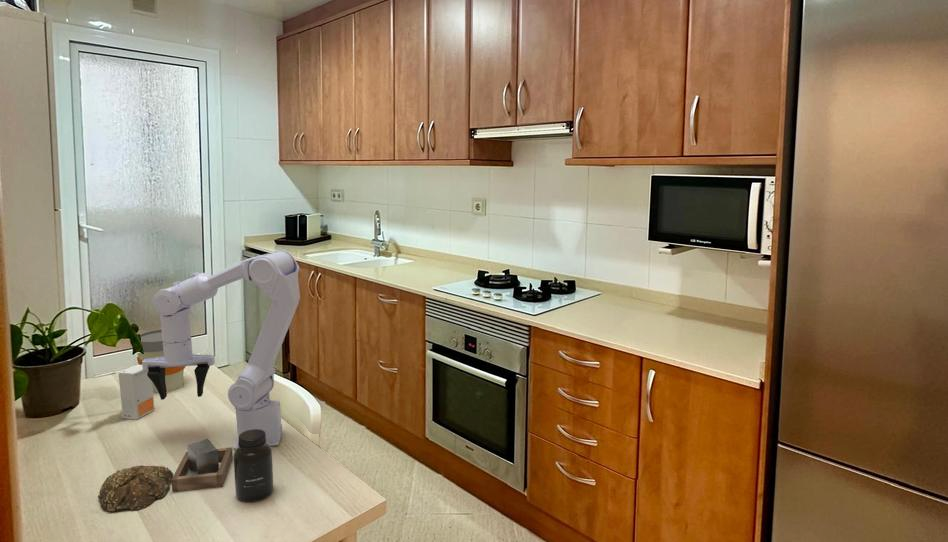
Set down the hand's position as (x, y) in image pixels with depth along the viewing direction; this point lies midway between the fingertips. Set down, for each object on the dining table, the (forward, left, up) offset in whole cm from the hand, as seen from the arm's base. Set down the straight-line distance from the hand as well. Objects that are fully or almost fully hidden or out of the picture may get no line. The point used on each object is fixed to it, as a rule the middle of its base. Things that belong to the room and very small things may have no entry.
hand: (182, 396), depth 130 cm
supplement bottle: (-19, +28, -10) cm, 35 cm away
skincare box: (+14, -14, -10) cm, 22 cm away
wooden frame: (-8, +19, -9) cm, 23 cm away
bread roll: (+3, +23, -10) cm, 26 cm away
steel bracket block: (-8, +19, -10) cm, 23 cm away
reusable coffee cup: (+13, -32, -10) cm, 36 cm away
